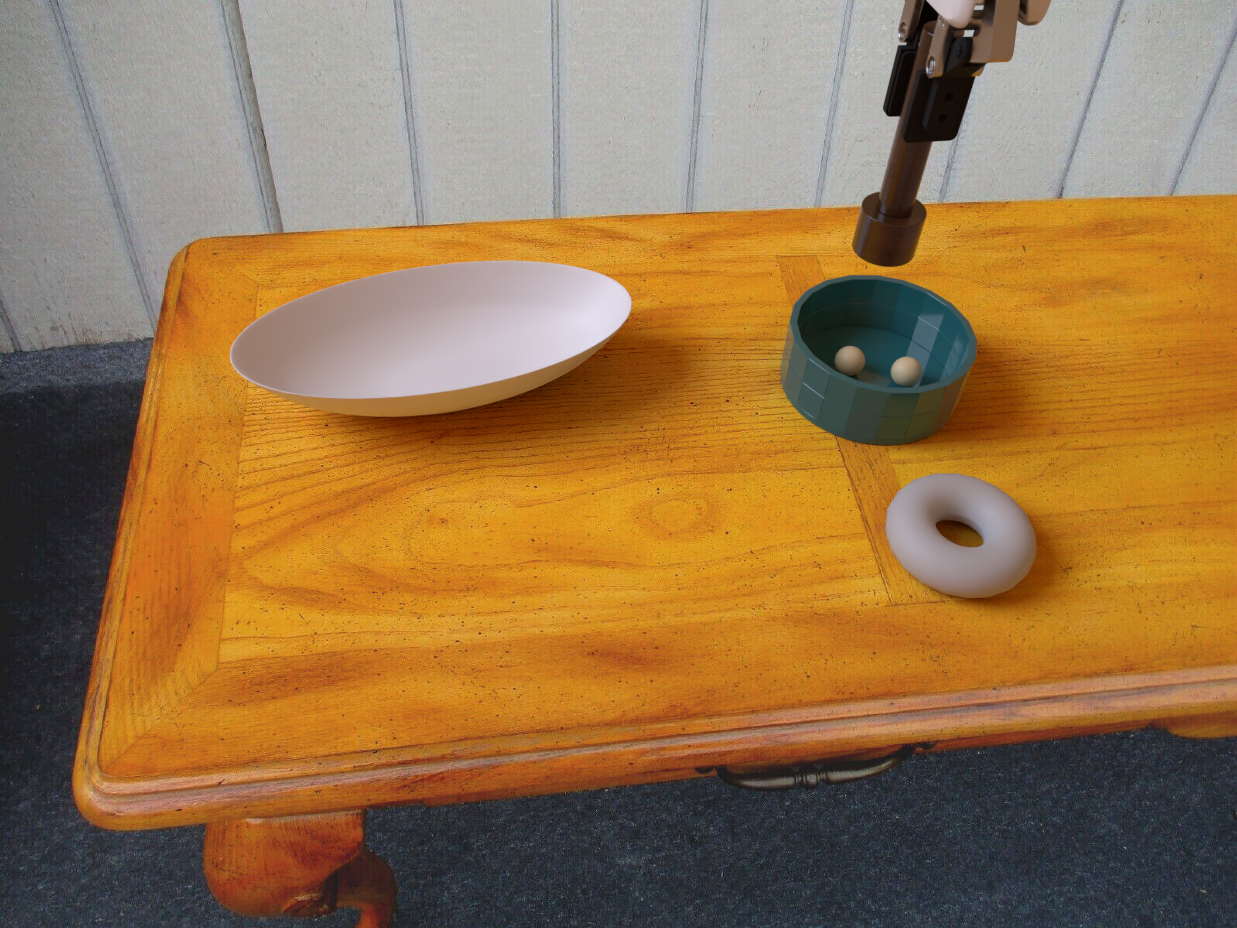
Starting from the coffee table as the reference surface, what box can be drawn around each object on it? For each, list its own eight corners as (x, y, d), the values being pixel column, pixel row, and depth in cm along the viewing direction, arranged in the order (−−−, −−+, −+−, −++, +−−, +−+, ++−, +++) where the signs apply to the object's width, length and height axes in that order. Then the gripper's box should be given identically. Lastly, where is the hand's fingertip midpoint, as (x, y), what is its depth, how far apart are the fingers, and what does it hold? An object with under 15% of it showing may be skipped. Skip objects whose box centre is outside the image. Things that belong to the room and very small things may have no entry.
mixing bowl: (992, 395, 77) (1015, 342, 73) (874, 473, 71) (892, 420, 67) (860, 306, 84) (874, 254, 80) (743, 370, 78) (752, 317, 74)
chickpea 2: (924, 385, 77) (932, 362, 75) (904, 397, 76) (912, 374, 74) (901, 369, 78) (908, 346, 76) (881, 380, 77) (888, 358, 75)
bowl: (603, 300, 84) (605, 241, 79) (653, 415, 74) (658, 356, 70) (249, 353, 78) (229, 293, 73) (253, 487, 68) (230, 426, 64)
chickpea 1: (867, 374, 77) (874, 351, 76) (847, 386, 76) (853, 363, 75) (845, 358, 79) (851, 335, 77) (825, 370, 78) (831, 347, 76)
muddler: (927, 252, 61) (997, 32, 51) (886, 275, 59) (950, 51, 49) (879, 224, 63) (937, 7, 53) (838, 245, 61) (890, 24, 51)
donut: (850, 527, 67) (950, 631, 61) (860, 495, 65) (965, 600, 59) (954, 477, 71) (1058, 571, 65) (967, 444, 68) (1077, 538, 62)
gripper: (1209, -223, 37) (1039, 198, 50) (1028, -304, 47) (928, 61, 61) (1027, -223, 36) (904, 206, 49) (884, -305, 46) (815, 66, 60)
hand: (918, 124), depth 55 cm, fingers closed on muddler, 2 cm apart
